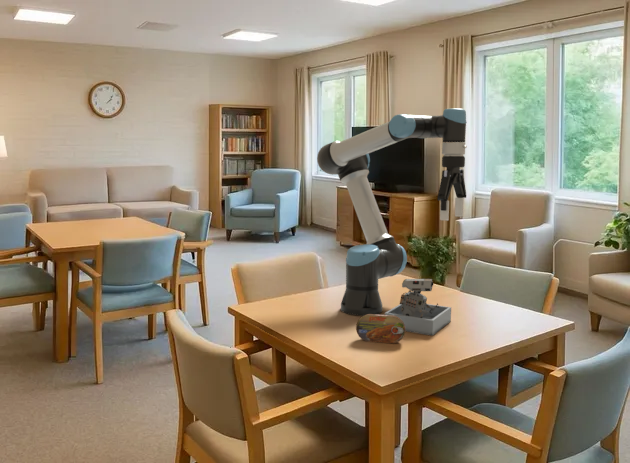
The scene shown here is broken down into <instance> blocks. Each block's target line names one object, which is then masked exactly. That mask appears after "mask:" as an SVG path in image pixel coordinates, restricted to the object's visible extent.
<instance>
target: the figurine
mask: <svg viewBox="0 0 630 463" xmlns="http://www.w3.org/2000/svg"><path fill="white" fill-rule="evenodd" d="M433 286H434V282H433V279H432V278H405V279H404V280H403V281H402V283H401V287H402V288H406V289H408V292H404V293H403V294H401V296H400V300H399V304H402V308H401V312H402V313H403V314H402V315H406V316H412V317H418V318H422V316H423V315H424V314H427V313H429V312H430V313H431V310H432V311H434V310H435V308H436V307H437V305H438V306H439V304H438V303H436V304H435V305H436V306H435V307H431V306H430V305H429V304H430V303H427V299H428V297H427V296H426V295H424V294H422V292H433V291H432V290H433ZM399 304H398V305H399ZM425 306H427V308H429V309H431V310H430V311H427V310H425ZM438 308H439V307H438ZM431 314H432V313H431Z"/></svg>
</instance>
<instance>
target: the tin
mask: <svg viewBox="0 0 630 463" xmlns="http://www.w3.org/2000/svg"><path fill="white" fill-rule="evenodd" d="M355 330H356V333H357V336H358V337H359V338H360V339H361V340H362V341H364V342H368V343H369V342H370V343H384V344H396V343H398V342H401V341H402V339H403V338H404V337H405V334H406V331H405V325H404V322H403V321H402V320H401V319H400V318H399V317H397V316H393V315H385V314H367V315H364V316H361V317H360V318H359V319H358V320H357V322H356V326H355Z"/></svg>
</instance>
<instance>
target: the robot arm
mask: <svg viewBox="0 0 630 463" xmlns="http://www.w3.org/2000/svg"><path fill="white" fill-rule="evenodd" d="M466 128H467V112H466V109H464V108H444V109H443V112H442V115H441V114H440V115H423V114H422V115H420V114H408V113H400V114H395V115H394V116H392V118H391V119H390V120H389V121H387V122H385V123H382V124H380V125H378V126H375V127H373V128H370V129H368V130H366V131H363V132H361V133H359V134H356V135H354V136H351V137H349V138H347V139H344V140H342V141H340V140H334V141H333V142H329V143H327V144H325V145H323V146H322V147H320V149H319V151H318V153H317V157H316V160H317V166H318V167H319V169H320V170H321V171H323V172H324V173H325V174H327V175H328V174H329V175H338V178H339V181H340V183H341V184H343V185H346V188H347V189H346V190H347V192H348V195H349V197H350V200H351V202H352V205H353V208H354V210H355V213H356V216H357V219H358V221H359V224H360V226H361V230H362V232H363V234H364V238H365V241H366V244H365V243H364V244H357V245H354V246H351V247H349V248H348V249H347V251H346V252H347V253H346V258H345V291H344V294H343V297H342V300H341V301H340V302H341V303H340V311H341V312H342V313H345V314H348V315H351V316H352V315H353V316H361V317H363V316H364V315H367V314H376V315H380V314H382V312H383V303H382V299H381V295H380V292H379V279H384V278H388V277H393V276H396V275H399V274H401V273H402V272H403V271H404V270H405V268H406V265H407V262H408V256H407V254H408V253H407V251H406V249H405V248H404V246H402V245H400V244H398V243H396V240H395V237H394V235H391V234H389V233H388V232H389V231H388V230H387V227H386V225H385V222H384V219H383V217H382V214H381V210H380V208H379V206H378V203H377V200H376V198H375V195H374V192H373V190H372V187H371V184H370V182H369V179H368V175H369V174H370V171H369V168H370V162H371V158H370V154H371V153H374V152H375V151H376V152H377V151H378V150H381V149H383V148H385V147H386V148H387V147H389V146H391V145H394V144H396V143H398V142H401V141H404V140H406V139H412V138H414V139H415V138H417V139H434V138H435V139H437V138H441V139H442V144H441V145H442V146H441V147H442V148H441V149H442V150H441V154H442V155H443V156H442V157H441V167H442V168H446V170H442V172H441V178H440V184H439V189H438V194H437V201H440V204H439V208H440V210H439V220H440V221H447V222H448V221H449V216H450V212H449V211H450V200H449V197H450V193H451V192H452V188H453V189H454V193H455V196H456V197H455V198H454V217H456V218H457V217H462V218H463V216H464V199H465V198H467V191H466V183H465V176H464V173H465V172H464V169H461V168H465V165H466V157H465V156H464V155H465V154H466V149H467V145H466V134H467V133H466V131H467V130H466Z"/></svg>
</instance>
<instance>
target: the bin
mask: <svg viewBox="0 0 630 463" xmlns="http://www.w3.org/2000/svg"><path fill="white" fill-rule="evenodd" d="M428 304H429V305H430V306H431V307H435V306H436V305H437V304H431V303H428ZM438 307H439V308H438ZM401 308H402V304H398V305H396V306H394V307H392V308H391V309H389V310H387V311H386V312H384V315H393V316H397V317H399V318H400V319H401V320H402V321H403V322H404V325H405V332H407V333H413V334H419V335H426V336H432V337H433V336H434V335H435V334H437V333H438V332H440V330H442V329H443V328H445V327H446V326H447V325H448V324H449V323H451V321H452V307H450V306H443V305H439V304H438V305H437V307H436V308H435V310H434V311H432V310H431V309H429V308H427V306H425V310H427V311H430V310H431V313H432V314H431V313H430V312H429V313H427V314H424V315H423V316H422V318H418V317H412V316H406V315H402V314H403V313H402V312H401Z"/></svg>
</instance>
